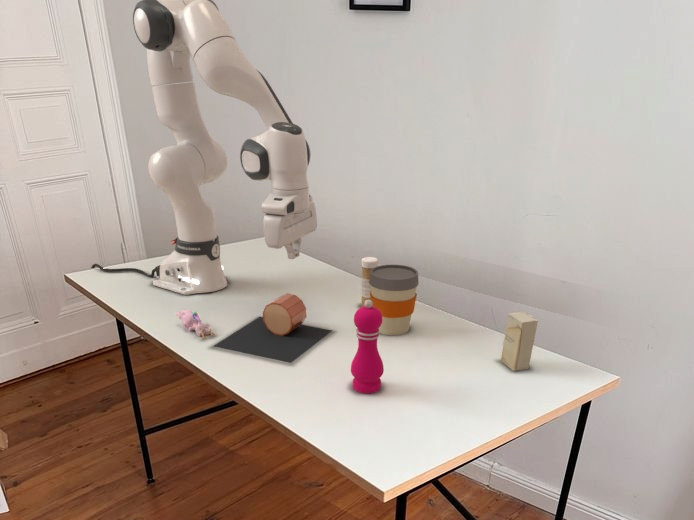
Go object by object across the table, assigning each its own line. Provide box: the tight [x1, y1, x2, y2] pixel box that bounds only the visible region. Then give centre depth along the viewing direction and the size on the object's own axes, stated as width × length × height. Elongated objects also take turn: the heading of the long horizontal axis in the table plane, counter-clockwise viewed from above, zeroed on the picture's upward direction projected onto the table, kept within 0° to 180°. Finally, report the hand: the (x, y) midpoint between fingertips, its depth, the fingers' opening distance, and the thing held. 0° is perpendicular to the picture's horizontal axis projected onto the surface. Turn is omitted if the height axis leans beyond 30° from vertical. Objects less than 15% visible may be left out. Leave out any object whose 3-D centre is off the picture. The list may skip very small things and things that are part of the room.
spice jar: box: [360, 256, 379, 307], centre depth 189 cm, size 5×5×13 cm
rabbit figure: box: [175, 309, 215, 340], centre depth 176 cm, size 6×6×15 cm
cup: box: [262, 293, 307, 336], centre depth 175 cm, size 8×8×8 cm
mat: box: [213, 316, 333, 364], centre depth 173 cm, size 22×22×1 cm
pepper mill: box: [350, 300, 385, 394], centre depth 146 cm, size 7×7×20 cm
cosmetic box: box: [500, 310, 539, 372], centre depth 159 cm, size 6×4×12 cm
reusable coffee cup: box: [369, 264, 419, 336], centre depth 176 cm, size 13×13×15 cm
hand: (293, 257), depth 172 cm, fingers closed
